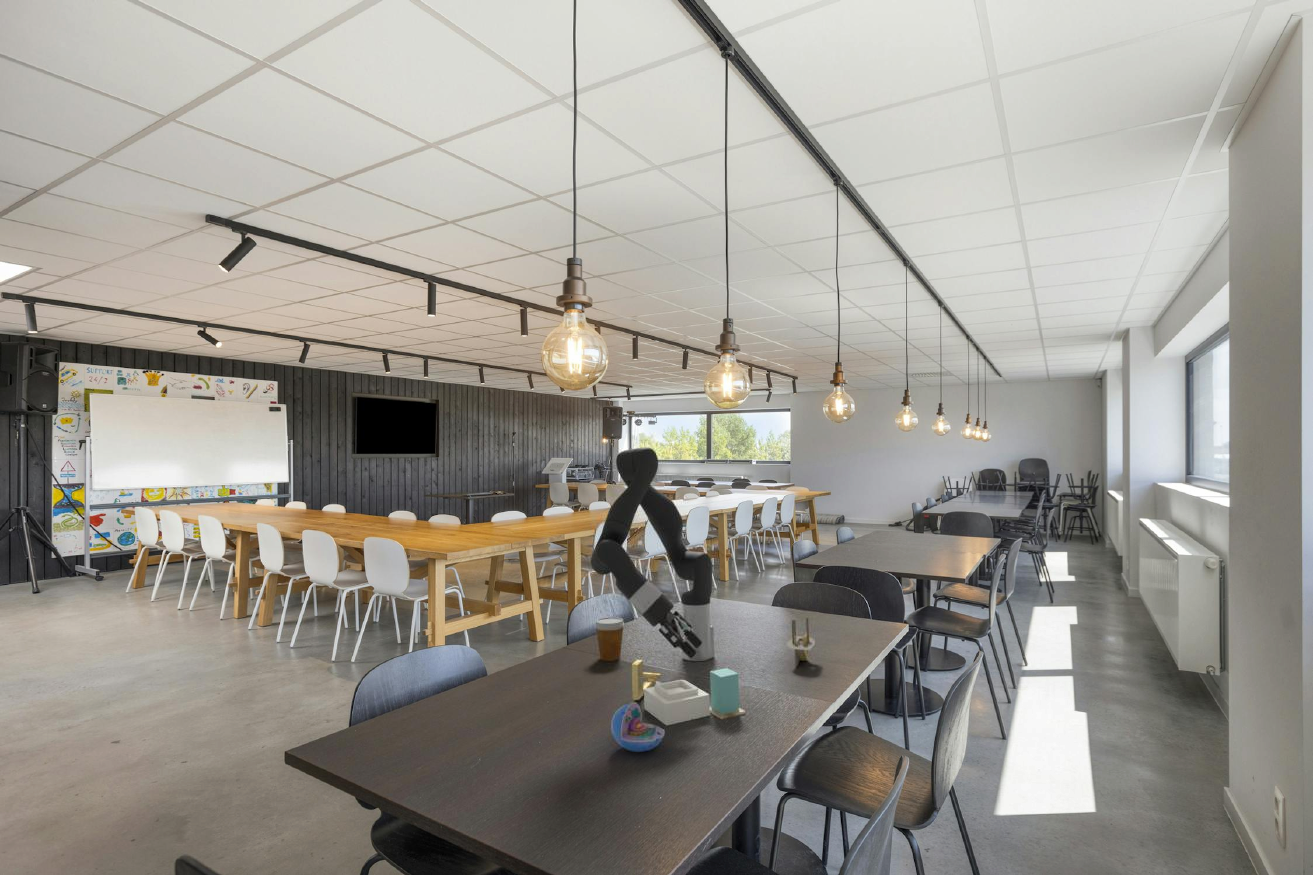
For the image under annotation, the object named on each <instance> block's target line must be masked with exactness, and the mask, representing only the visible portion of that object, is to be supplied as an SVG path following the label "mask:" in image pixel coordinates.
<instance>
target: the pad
mask: <svg viewBox="0 0 1313 875" xmlns="http://www.w3.org/2000/svg"><path fill="white" fill-rule="evenodd" d="M710 714H712V715H713V716H715V717H717V718H718V719H719V720H725V719H728V718H733V717H734V718H735V717H737V716H738V717H739V716H742V715H745V714H746V710H744V709H742V708H741V707H739V711H736V712H732V713H727V714H723V715H722V714H720V713H718V712H717V711H715V710H714V709H712V708H711V705H710Z"/></svg>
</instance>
